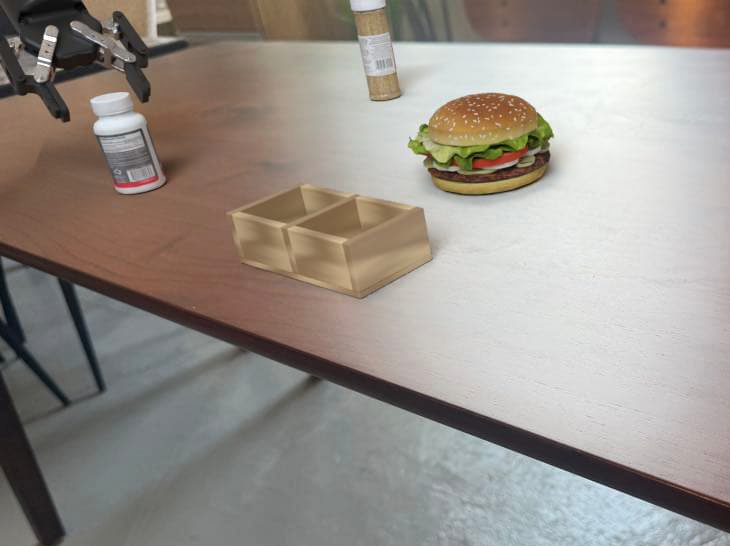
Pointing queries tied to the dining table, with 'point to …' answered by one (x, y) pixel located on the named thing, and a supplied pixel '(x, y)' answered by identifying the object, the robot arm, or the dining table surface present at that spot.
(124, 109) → the pill bottle
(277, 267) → the divided wooden box
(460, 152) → the food
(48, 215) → the dining table surface
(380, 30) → the brown spice jar
